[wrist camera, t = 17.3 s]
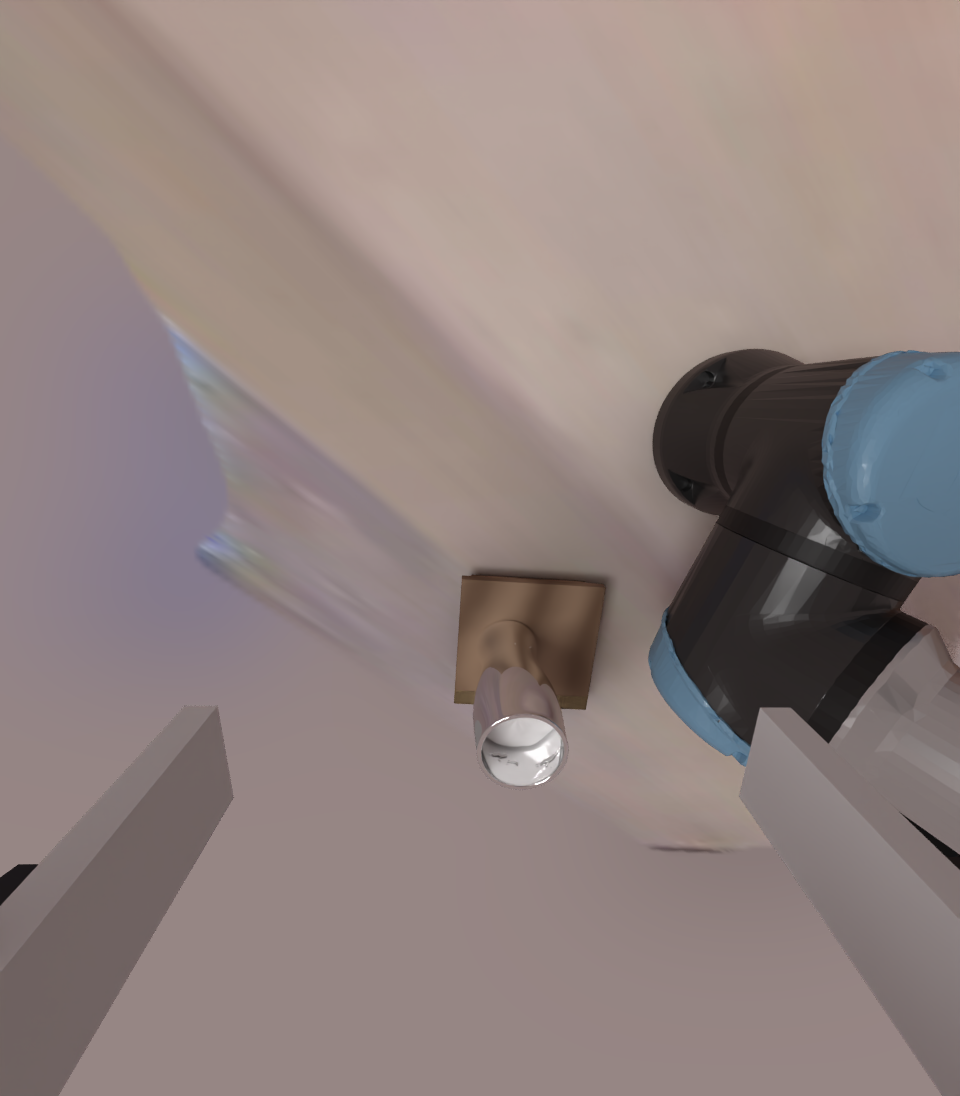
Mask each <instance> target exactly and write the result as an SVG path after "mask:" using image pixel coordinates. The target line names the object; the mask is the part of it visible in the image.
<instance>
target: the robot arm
mask: <svg viewBox="0 0 960 1096" xmlns="http://www.w3.org/2000/svg"><path fill="white" fill-rule="evenodd" d="M653 456H654V461H655V465H656V468H657V471H658V473H659V476H660V478H661V480H662V481H663V483H664V484H665V486H666V487H667V488H668V490H669V491H670V492H671V493H672V494H673V495H674V496H675V497H677V498H678V499H679V500H681V501H682V502H684V503H686V504H687V505H689V506H692V507H694V508H696V509H698V510H700V511H703V512H706V513H709V514H714V515H719V516H720V517H719V519H718V521H717V522H716V524H715V525H714V527H713V529H712V531H711V533H710V535H709V537H708V538H707V540H706V542H705V544H704V546H703V547H702V549H701V551H700V553H699V555H698V556H697V558H696V560H695V562H694V564H693V565H692V567H691V569H690V571H689V573H688V574H687V576H686V578H685V580H684V582H683V583H682V585H681V587H680V589H679V591H678V592H677V594H676V596H675V598H674V600H673V601H672V603H671V605H670V606H669V607H668V608H667V609H666V610H665V611H664V614H663V616H662V624H661V626H660V628H659V630H658V633H657V635H656V637H655V639H654V641H653V643H652V645H651V648H650V651H649V659H648V662H649V666H650V669H651V675H652V678H653V681H654V683H655V685H656V687H657V689H658V691H659V692H660V694H661V695H662V697H663V698H664V700H665V701H666V702H667V704H668V705H669V706H670V708H671V709H672V710H673V711H674V712H675V713H676V714H677V715H678V717H679V718H680V719H681V720H682V721H683V722H684V723H685V724H686V725H687V726H688V727H689V728H690V729H691V730H693V731H694V732H695V733H696V734H697V735H698V736H699V737H700V738H702V739H703V740H704V741H705V742H707V743H708V744H709V745H711V746H712V747H713V748H715V749H716V750H718V751H719V752H721V753H722V754H724V755H725V756H730V755H732V756H734V757H735V759H736V760H737V761H738V762H739V763H740V764H741V765H743V766H745V767H746V769H745V773H744V777H743V782H742V786H741V790H740V794H739V797H740V799H741V800H742V802H743V803H744V805H745V806H746V808H747V809H748V811H749V812H750V813H751V815H752V816H753V818H754V819H755V821H756V822H757V824H758V825H759V827H760V828H761V830H762V831H763V833H764V834H765V836H766V837H767V838H768V840H769V841H770V843H771V844H772V846H773V847H774V849H775V850H776V852H777V853H778V855H779V856H780V857H781V859H782V861H783V862H784V863H785V865H786V866H787V868H788V869H789V871H790V872H791V874H792V875H793V877H794V878H795V880H796V881H797V883H798V884H799V886H800V887H801V888H802V890H803V891H804V893H805V894H806V896H807V897H808V899H809V900H810V902H811V903H812V905H813V906H814V908H815V909H816V911H817V912H818V913H819V915H820V917H821V918H822V920H823V921H824V922H825V924H826V925H827V927H828V928H829V930H830V931H831V933H832V934H833V936H834V937H835V938H836V940H837V942H838V943H839V945H840V946H841V947H842V949H843V950H844V952H845V953H846V955H847V956H848V958H849V959H850V961H851V962H852V964H853V965H854V967H855V968H856V970H857V971H858V973H859V974H860V975H861V977H862V978H863V980H864V981H865V983H866V984H867V986H868V987H869V989H870V990H871V992H872V993H873V995H874V996H875V997H876V999H877V1000H878V1002H879V1003H880V1005H881V1006H882V1008H883V1009H884V1011H885V1012H886V1014H887V1015H888V1017H889V1018H890V1020H891V1021H892V1023H893V1024H894V1025H895V1027H896V1029H897V1030H898V1031H899V1033H900V1034H901V1036H902V1037H903V1039H904V1040H905V1042H906V1043H907V1045H908V1046H909V1048H910V1049H911V1051H912V1052H913V1054H914V1055H915V1056H916V1058H917V1059H918V1061H919V1062H920V1064H921V1065H922V1067H923V1068H924V1070H925V1071H926V1072H927V1074H928V1076H929V1077H930V1078H931V1080H932V1082H933V1083H934V1084H935V1086H936V1087H937V1089H938V1090H939V1092H940V1093H941V1095H942V1096H960V857H945V856H944V855H943V854H942V853H941V852H940V851H939V850H938V849H937V848H936V847H935V846H934V845H933V844H932V843H931V842H930V841H929V840H928V839H927V838H926V837H925V836H924V835H923V834H922V833H920V832H919V831H918V830H917V829H916V828H915V827H914V826H913V825H912V824H911V823H910V822H909V821H908V820H907V819H906V818H905V817H904V816H903V815H905V816H906V817H907V818H909V819H910V820H912V821H913V822H914V823H916V824H917V825H919V826H920V827H922V828H923V829H924V830H926V831H927V832H929V833H930V834H931V835H933V836H934V837H936V838H937V839H939V840H940V841H941V842H943V843H944V844H946V845H947V846H948V847H950V848H951V849H953V850H954V851H956V852H957V853H958V854H960V668H959V667H958V666H957V665H956V664H954V663H953V661H952V659H951V657H950V655H949V653H948V650H947V648H946V646H945V644H944V642H943V640H942V637H941V635H940V633H939V631H938V629H937V628H935V627H933V626H932V625H930V624H927V623H925V622H923V621H921V620H918V619H916V618H914V617H912V616H910V615H907V614H905V613H903V612H902V611H900V608H901V606H902V604H903V603H904V601H905V600H906V599H907V597H908V596H909V594H910V593H911V591H912V590H913V589H914V587H915V586H916V584H917V583H918V582H919V580H920V579H921V577H928V578H930V577H945V576H953V575H957V574H960V352H936V353H927V352H919V351H912V350H908V351H906V352H904V351H896V352H891V353H887V354H885V355H882V356H875V357H866V358H857V359H848V360H840V361H831V362H822V363H813V364H804V363H802V362H800V361H798V360H795V359H793V358H791V357H789V356H787V355H785V354H782V353H779V352H776V351H771V350H764V349H746V350H739V351H733V352H728V353H724V354H720V355H717V356H715V357H712V358H710V359H708V360H706V361H704V362H702V363H700V364H699V365H697V366H695V367H694V368H693V369H691V370H690V371H689V372H688V373H686V374H685V375H684V376H683V377H682V378H681V379H680V380H679V381H678V382H677V383H676V385H675V386H674V387H673V388H672V390H671V391H670V392H669V394H668V395H667V397H666V399H665V400H664V402H663V404H662V406H661V408H660V411H659V413H658V416H657V419H656V423H655V427H654V433H653ZM233 798H234V797H233V791H232V785H231V779H230V774H229V768H228V763H227V756H226V751H225V745H224V739H223V734H222V728H221V723H220V716H219V711H218V706H184V707H183V708H182V709H181V711H180V712H179V713H178V714H177V715H176V716H175V717H174V718H173V719H172V720H171V721H170V722H169V724H168V725H167V726H166V727H165V728H164V729H163V730H162V731H161V732H160V733H159V734H158V735H157V737H156V738H155V739H154V740H153V741H152V742H151V743H150V744H149V745H148V746H147V747H146V749H145V750H144V751H143V752H142V753H141V754H140V755H139V756H138V757H137V758H136V759H135V760H134V762H133V763H132V764H131V765H130V766H129V767H128V768H127V769H126V770H125V771H124V773H123V774H122V775H121V776H120V777H119V778H118V779H117V780H116V781H115V782H114V783H113V784H112V785H111V786H110V788H109V789H108V790H107V791H106V792H105V793H104V794H103V795H102V796H101V797H100V798H99V800H98V801H97V802H96V803H95V804H94V805H93V806H92V807H91V808H90V809H89V810H88V811H87V812H86V814H85V815H84V816H83V817H82V818H81V819H80V820H79V821H78V822H77V823H76V824H75V826H74V827H73V828H72V829H71V830H70V831H69V832H68V833H67V834H66V835H65V836H64V837H63V839H62V840H61V841H60V842H59V843H58V844H57V845H56V846H55V847H54V848H53V849H52V851H51V852H50V853H49V854H48V855H47V856H46V857H45V858H44V859H43V860H42V861H41V862H40V864H23V865H20V864H19V865H17V866H16V867H14V868H13V869H12V870H10V871H9V872H7V873H6V874H4V875H3V876H2V877H0V1096H58V1095H59V1094H60V1092H61V1091H62V1089H63V1087H64V1085H65V1084H66V1082H67V1080H68V1079H69V1077H70V1075H71V1074H72V1072H73V1070H74V1068H75V1067H76V1065H77V1063H78V1062H79V1060H80V1058H81V1057H82V1055H83V1053H84V1051H85V1050H86V1048H87V1046H88V1044H89V1043H90V1041H91V1039H92V1038H93V1036H94V1034H95V1033H96V1031H97V1029H98V1028H99V1026H100V1024H101V1022H102V1021H103V1019H104V1017H105V1016H106V1014H107V1012H108V1011H109V1009H110V1007H111V1005H112V1004H113V1002H114V1000H115V999H116V997H117V995H118V994H119V992H120V990H121V988H122V987H123V985H124V983H125V982H126V979H127V978H128V977H129V975H130V973H131V971H132V970H133V968H134V966H135V964H136V963H137V961H138V959H139V958H140V956H141V954H142V953H143V951H144V949H145V948H146V946H147V944H148V942H149V941H150V939H151V937H152V936H153V934H154V932H155V931H156V929H157V927H158V925H159V924H160V922H161V920H162V918H163V917H164V915H165V914H166V912H167V910H168V908H169V906H170V905H171V903H172V902H173V900H174V898H175V897H176V895H177V893H178V891H179V890H180V888H181V886H182V885H183V883H184V881H185V879H186V878H187V876H188V874H189V872H190V871H191V869H192V868H193V865H194V864H195V862H196V861H197V859H198V857H199V856H200V854H201V852H202V851H203V849H204V847H205V845H206V844H207V842H208V840H209V839H210V837H211V835H212V833H213V832H214V830H215V828H216V827H217V825H218V823H219V821H220V820H221V818H222V817H223V815H224V813H225V811H226V810H227V808H228V806H229V805H230V803H231V801H232V800H233ZM901 813H902V814H903V815H902V814H901Z"/></svg>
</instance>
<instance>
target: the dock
mask: <svg viewBox="0 0 960 1096" xmlns="http://www.w3.org/2000/svg"><path fill="white" fill-rule="evenodd" d="M605 589H606V588H605V586H604V585H603V584H597V583H585V581H568V580H552V579H535V578H518V577H501V576H484V575H472V576H462V586H461V602H460V617H459V633H458V648H457V664H456V680H455V695H454V703H457V704H474V698H475V692H476V687H477V684H478V680H479V676H480V673H481V664H480V661H479V658H478V655H477V642H478V639H479V637H480V635H481V633H482V632H483V631H484V630H485V629H486V628H487V627H488V626H490V625H491V624H493V623H496V622H499V621H504V620H511V621H516V622H519V623H522V624H524V625H525V626H527V627H528V628H529V629H530V630H531V631H532V633H533V634H534V636H535V638H536V642H537V661H538V663H539V664H540V666H541V667H542V669H543V670H544V672H545V674H546V675H547V677H548V678H549V680H550V682H551V684H552V686H553V688H554V690H555V692H556V695H557V698H558V701H559V704H560V707H561V708H562V709H583V710H586V705H587V699H588V692H589V686H590V680H591V674H592V668H593V662H594V656H595V650H596V644H597V637H598V631H599V625H600V619H601V613H602V607H603V601H604V595H605Z"/></svg>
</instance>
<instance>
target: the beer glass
mask: <svg viewBox="0 0 960 1096" xmlns="http://www.w3.org/2000/svg"><path fill="white" fill-rule="evenodd" d="M477 655H478V658H479V661H480V664H481V673H480V676H479V680H478V684H477V687H476V692H475V698H474V705H473V724H474V735H475V743H476V750H477V761H478V764H479V766H480V768H481V770H482V772H483V773H484V774H485V775H486V777H488V778H489V779H490V780H491V781H493V782H494V783H496V784H498V785H500V786H502V787H505V788H509V789H515V790H526V789H532V788H536V787H539V786H542V785H544V784H546V783H548V782H550V781H551V780H552V779H554V778H555V777H556V776H557V775H558V774H559V773H560V772H561V770H562V769H563V767H564V766H565V764H566V761H567V758H568V752H569V747H568V741H567V738H566V732H565V726H564V720H563V716H562V711H561V707H560V704H559V701H558V698H557V695H556V692H555V690H554V688H553V686H552V684H551V682H550V680H549V678H548V677H547V675H546V674H545V672H544V670H543V669H542V667H541V666H540V664H539V663H538V661H537V642H536V638H535V636H534V634H533V633H532V631H531V630H530V629H529V628H528V627H527V626H525V625H524V624H522V623H519V622H516V621H511V620H504V621H499V622H496V623H493V624H491V625H490V626H488V627H487V628H486V629H485V630H484V631H483V632H482V633H481V635H480V637H479V639H478V642H477Z"/></svg>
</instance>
